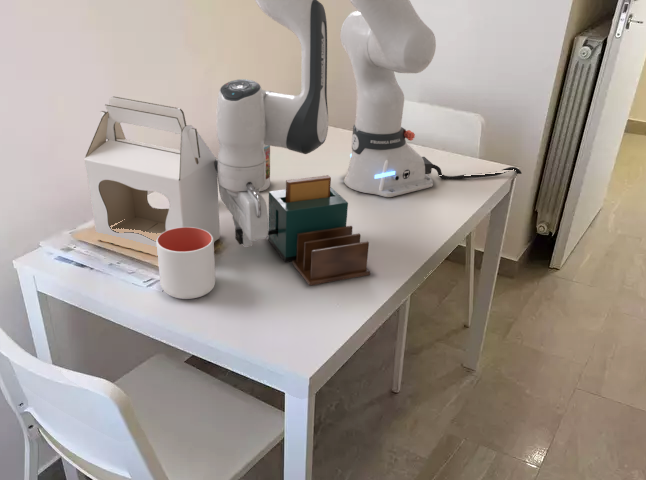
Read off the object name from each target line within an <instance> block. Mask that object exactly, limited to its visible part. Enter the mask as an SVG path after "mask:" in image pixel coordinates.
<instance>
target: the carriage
mask: <svg viewBox="0 0 646 480" xmlns="http://www.w3.org/2000/svg"><path fill="white" fill-rule="evenodd" d="M272 234H278V229H273V230H269V229H268V235H272ZM241 236H243V231H242V229H236V230H235V229H234V239H235V240H236V242H237V243H238V245H243V244H242V239H241Z"/></svg>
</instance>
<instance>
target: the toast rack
mask: <svg viewBox="0 0 646 480" xmlns="http://www.w3.org/2000/svg"><path fill="white" fill-rule="evenodd" d="M353 228H354V227H353V225H346V226H345V227H339V228H332V229H325V230H319V231H312V232H305V233H299V234H297V256H296V260H292V261H291V264H292V265H293V267H294V268H295V269H296V270H297V272H298V273H299V274H300V275H301V277H302V278H303V279H304V280H305V281H306V283H307V284H308V286H315V285H321V284H325V283H326V284H327V283H332V282H337V281H338V282H339V281H343V280H349V279H354V278H360V277H365V276H370V275H371V270H370V269H369V268H368V258H369V257H368V256H369V246H370V242H369V241H368V240H367V241H361V233H360V232H359V233H353Z"/></svg>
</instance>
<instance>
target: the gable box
mask: <svg viewBox="0 0 646 480" xmlns="http://www.w3.org/2000/svg"><path fill="white" fill-rule="evenodd" d="M104 106H105V109H106V110H107V111H105V110H101V111H99V112H100V113H99V114H100V120H99V123H98V125H97V128H96V130H95V133H94V135H93V138H92V140H91V142H90V145H89V146H88V150H87V152H86V154H85V157H84V159H83V160H84V168H85V173H86V179H87V185H88V190H89V192H88V193H89V197H90V198H89V199H90V204H91V211H92V216H93V217H92V218H93V223H94V230H95V233H96V232H98V233H103V234H108V235H112V236H116V237H121V238H125V239H129V240H133V241H136V242H140V243H143V244H147V245H151V246H155V247H157V246H156V241H154V240H152V239H150V238H148V237H146V236H144V235H142V234H139V233H134V232H124V233H119V232H116V231H114V230H112V229H116V228H117V229H118V228H119V229H121V228H122V229H123V228H124V229H129V230H130V229H132V230H134V229H135V230H141V231H143V232H145V231H146V232H149V233H151V232H152V233H156V234H157V233H163V232H165V231H167V230H170V229H174V228H179V227H194V228H200V229H203V230H206V231H207V232H209V233H210V234H211V235H212V236H213V242H214V243H215V242H217V240H220V237H221V230H220V229H221V228H220V227H221V226H220V207H219V206H220V205H219V204H220V203H219V185H218V176H217V171H216V170H215V168H214V159H216V158H217V157H216V155H215V154H214V152H213V151H212V150H211V149H210V147H209V146H208V145H207V143H206V142H205V140H204V139H203V138H202V136H201V135H200V133H199V132H198V130H197V128H195V127H194V126H193V125H192V124H187V121H186V117H185V113H184V111H183V109H182V108H179V107H176V106H175V107H174V106H170V105H164V104H157V103H153V102H146V101H142V100H135V99H132V98H131V99H130V98H125V97H120V96H111V97H110V98H109V99H108V104H106V103H105V104H104ZM121 124H126V125H132V126H136V127H137V126H138V127H141V128H142V127H143V128H148V129H153V130H157V131H162V132H168V133H173V134H175V135H180V149H177V148H173V147H168V146H167V147H166V146H162V145H158V144H152V143H147V142H142V141H138V140H132V139H128V138H126V136H125V133H124V131H123V127H122V125H121ZM148 192H154V193H157V194H160V195H161V196H164V197H165V198H166V199H167V201H168V203H169V205H168V208H156V207H154V206H151V204H150V203H149V200H148ZM124 219H125V220H124ZM122 220H123V221H122ZM120 221H122V222H120ZM118 222H120V223H118ZM115 223H118V224H117V225H115V226H113V227H112V229H111V227H110V226H111V225H114V224H115Z"/></svg>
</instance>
